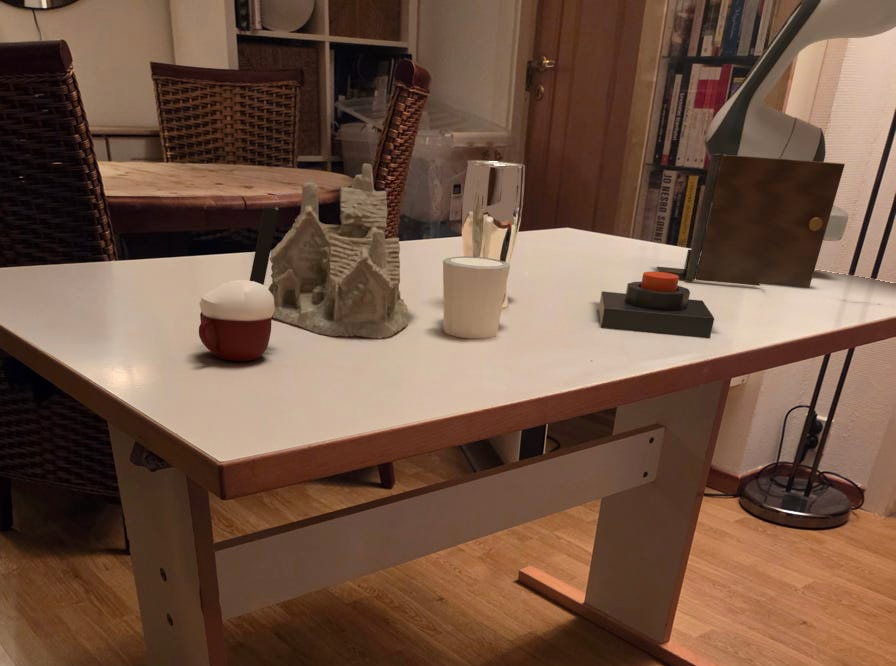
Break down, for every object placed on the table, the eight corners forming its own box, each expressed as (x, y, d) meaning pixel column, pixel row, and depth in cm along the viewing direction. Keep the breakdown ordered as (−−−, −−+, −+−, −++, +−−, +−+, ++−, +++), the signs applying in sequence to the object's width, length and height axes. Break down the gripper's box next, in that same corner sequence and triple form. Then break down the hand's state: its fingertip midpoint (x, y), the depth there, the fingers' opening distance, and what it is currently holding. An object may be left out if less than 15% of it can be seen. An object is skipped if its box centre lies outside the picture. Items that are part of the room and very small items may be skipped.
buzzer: (698, 319, 104) (706, 284, 102) (709, 338, 96) (718, 300, 93) (598, 310, 105) (604, 275, 103) (600, 328, 97) (607, 290, 95)
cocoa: (208, 371, 73) (197, 216, 67) (179, 353, 78) (166, 205, 71) (306, 359, 78) (304, 214, 72) (273, 343, 83) (269, 204, 76)
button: (673, 289, 100) (677, 273, 99) (677, 296, 96) (681, 279, 96) (639, 286, 100) (642, 270, 99) (641, 292, 97) (644, 276, 96)
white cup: (428, 325, 93) (432, 255, 89) (485, 323, 95) (492, 255, 91) (453, 341, 87) (459, 267, 84) (513, 339, 90) (522, 267, 86)
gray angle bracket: (690, 276, 130) (697, 248, 128) (694, 281, 127) (700, 251, 125) (655, 273, 131) (661, 244, 129) (657, 278, 128) (663, 248, 125)
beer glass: (497, 298, 108) (512, 161, 100) (520, 310, 102) (537, 166, 94) (445, 298, 106) (456, 158, 98) (466, 310, 100) (478, 164, 92)
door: (806, 288, 125) (842, 163, 117) (810, 291, 123) (847, 164, 114) (684, 277, 127) (711, 153, 118) (686, 280, 125) (713, 154, 116)
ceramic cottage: (273, 296, 100) (272, 148, 91) (414, 313, 99) (427, 166, 90) (238, 336, 87) (233, 169, 78) (399, 356, 87) (412, 191, 78)
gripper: (703, 188, 135) (715, 196, 124) (838, 198, 133) (863, 207, 122) (694, 232, 139) (705, 244, 127) (825, 243, 137) (848, 255, 125)
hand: (784, 226), depth 124 cm, fingers closed
